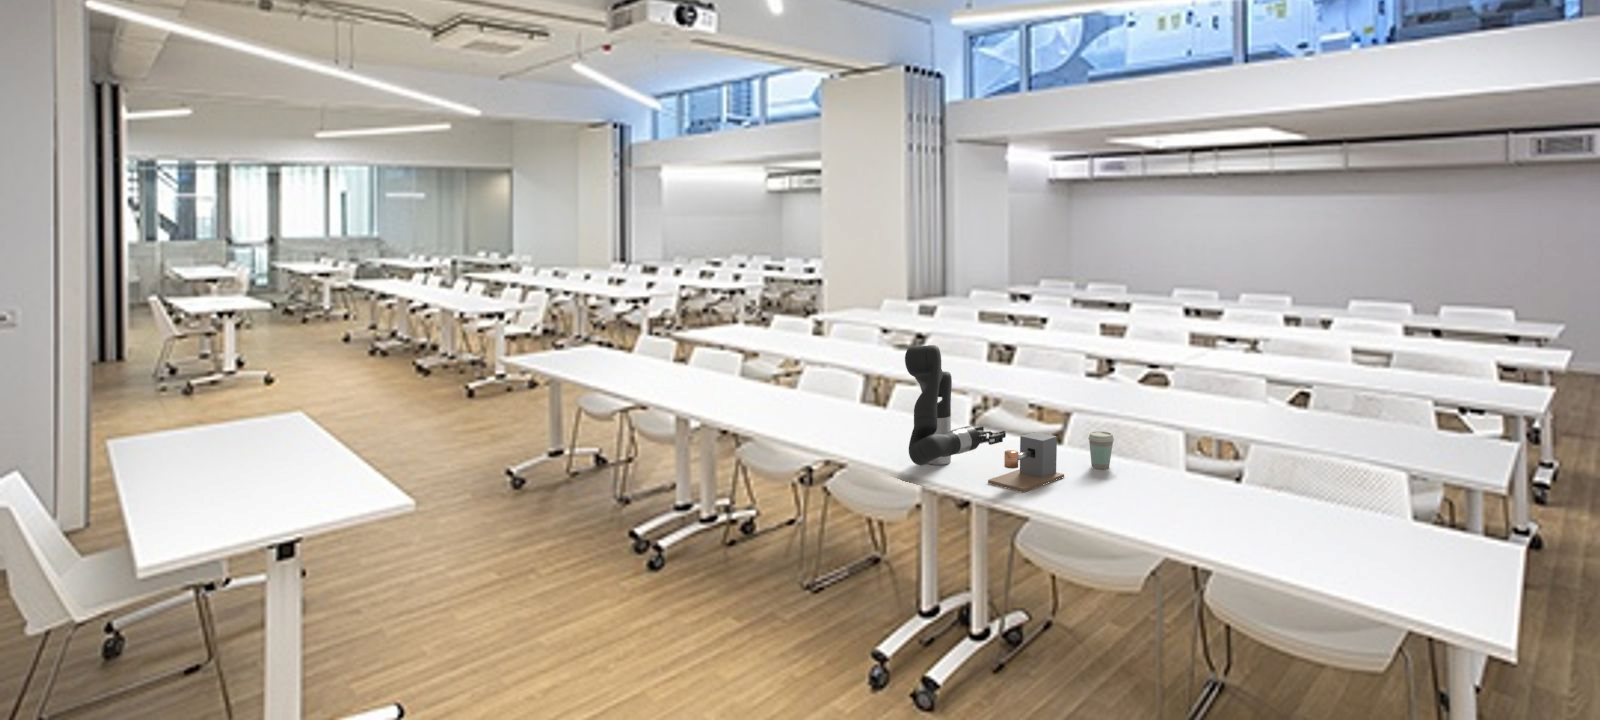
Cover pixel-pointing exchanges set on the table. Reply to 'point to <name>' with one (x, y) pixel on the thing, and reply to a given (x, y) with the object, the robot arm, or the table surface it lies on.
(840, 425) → the table surface
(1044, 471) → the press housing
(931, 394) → the robot arm
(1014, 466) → the plunger
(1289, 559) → the table surface
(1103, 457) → the coffee cup
